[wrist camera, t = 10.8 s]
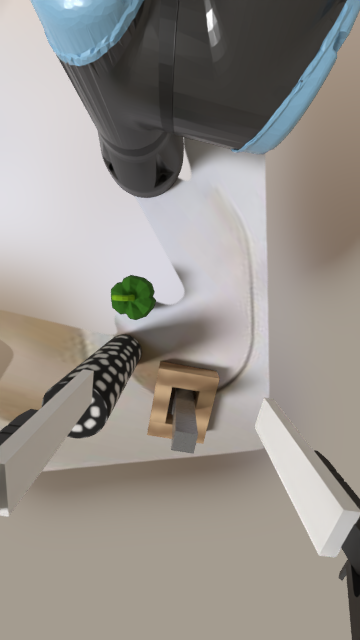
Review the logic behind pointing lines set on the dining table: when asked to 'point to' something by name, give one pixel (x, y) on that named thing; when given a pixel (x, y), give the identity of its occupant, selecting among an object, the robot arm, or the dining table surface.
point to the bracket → (184, 421)
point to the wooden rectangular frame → (185, 379)
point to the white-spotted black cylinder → (102, 382)
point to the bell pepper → (133, 297)
